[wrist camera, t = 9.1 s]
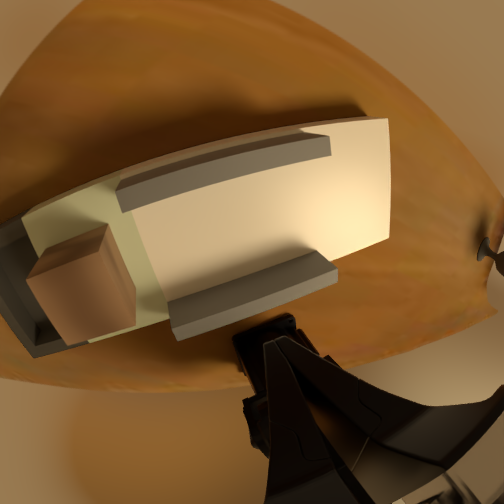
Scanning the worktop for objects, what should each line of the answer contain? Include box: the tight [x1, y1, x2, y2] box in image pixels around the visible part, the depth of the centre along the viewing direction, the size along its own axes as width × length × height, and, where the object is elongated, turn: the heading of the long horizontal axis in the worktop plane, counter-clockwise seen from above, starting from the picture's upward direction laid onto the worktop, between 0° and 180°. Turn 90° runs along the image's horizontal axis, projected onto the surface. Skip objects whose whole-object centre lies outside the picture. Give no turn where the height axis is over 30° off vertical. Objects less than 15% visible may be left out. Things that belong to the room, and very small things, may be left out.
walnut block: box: [26, 224, 136, 346], centre depth 15 cm, size 5×5×4 cm
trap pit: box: [0, 207, 89, 358], centre depth 17 cm, size 6×11×2 cm, turn 10°
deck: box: [21, 116, 391, 343], centre depth 20 cm, size 28×11×2 cm, turn 100°
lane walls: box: [115, 132, 338, 341], centre depth 18 cm, size 12×10×3 cm
